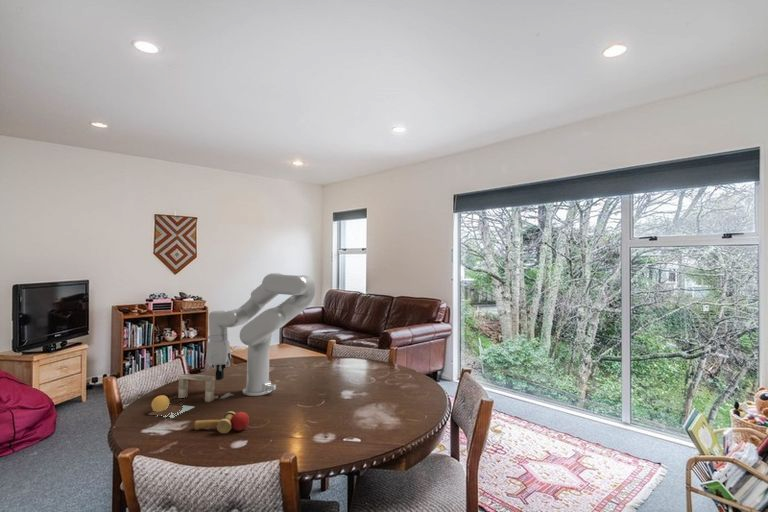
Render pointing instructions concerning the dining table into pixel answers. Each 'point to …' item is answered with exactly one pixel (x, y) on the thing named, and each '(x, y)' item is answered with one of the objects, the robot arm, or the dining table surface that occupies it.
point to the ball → (160, 403)
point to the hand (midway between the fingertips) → (219, 379)
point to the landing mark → (185, 408)
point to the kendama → (225, 422)
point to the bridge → (184, 379)
